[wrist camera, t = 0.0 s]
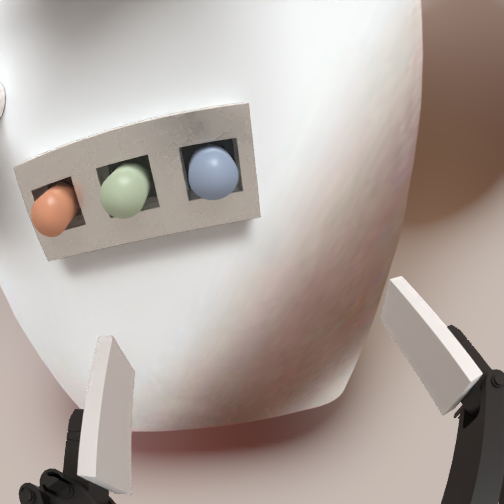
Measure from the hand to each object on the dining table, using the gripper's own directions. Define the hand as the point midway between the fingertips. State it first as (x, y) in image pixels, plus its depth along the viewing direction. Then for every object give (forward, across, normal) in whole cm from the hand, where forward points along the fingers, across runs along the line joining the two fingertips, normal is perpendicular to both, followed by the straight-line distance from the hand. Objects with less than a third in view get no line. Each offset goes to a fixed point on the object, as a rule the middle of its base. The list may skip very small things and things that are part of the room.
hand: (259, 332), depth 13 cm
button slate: (+25, 0, +1) cm, 25 cm away
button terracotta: (+25, -20, +1) cm, 33 cm away
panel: (+28, -10, +1) cm, 30 cm away
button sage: (+25, -10, +1) cm, 27 cm away
